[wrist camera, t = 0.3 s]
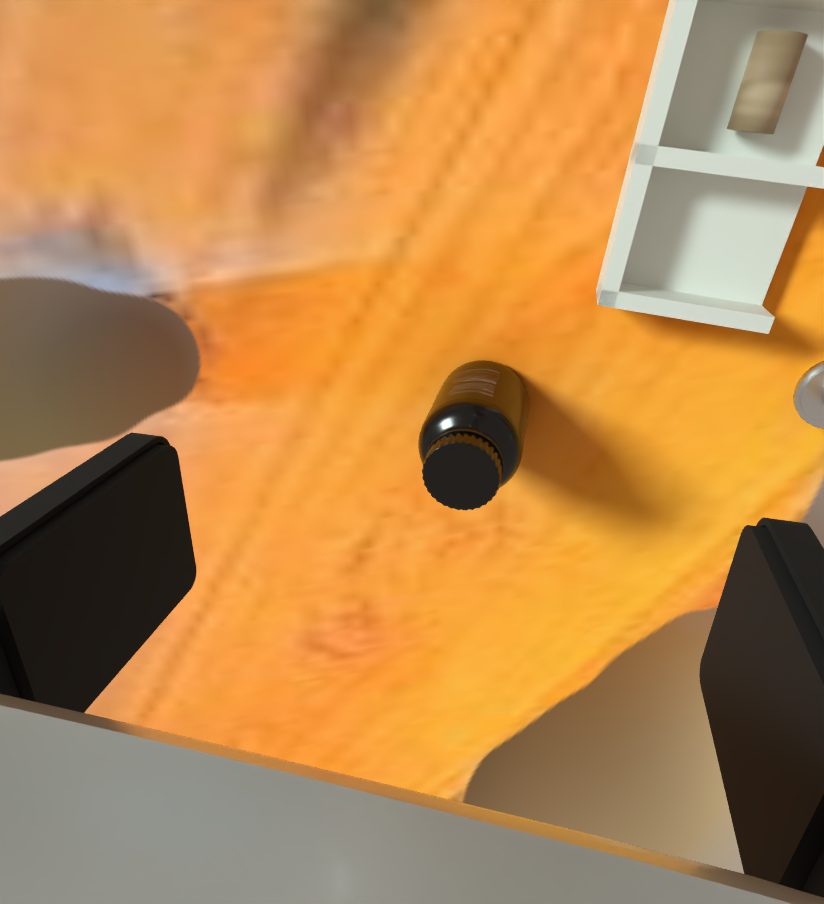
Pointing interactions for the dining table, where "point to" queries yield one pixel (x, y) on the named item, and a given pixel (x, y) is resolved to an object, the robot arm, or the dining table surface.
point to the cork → (766, 80)
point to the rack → (714, 169)
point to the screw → (811, 396)
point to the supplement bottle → (474, 434)
